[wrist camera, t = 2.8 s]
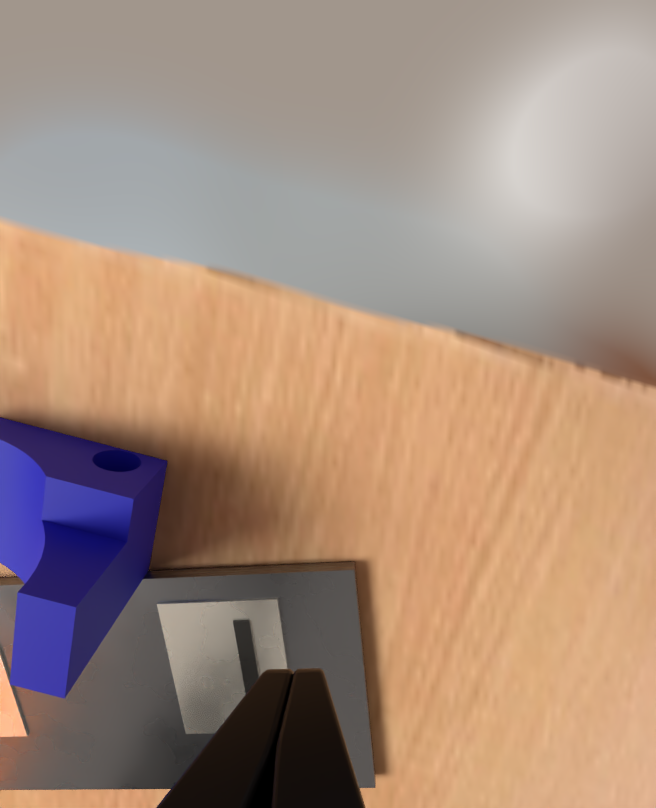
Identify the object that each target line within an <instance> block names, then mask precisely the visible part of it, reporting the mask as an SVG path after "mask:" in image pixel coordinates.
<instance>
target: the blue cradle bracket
mask: <svg viewBox="0 0 656 808" xmlns="http://www.w3.org/2000/svg"><path fill="white" fill-rule="evenodd" d="M166 467H167V461H166V460H162V459H159V458H155V457H151V456H147V455H143V454H139V453H135V452H132V451H128V450H124V449H120V448H116V447H112V446H108V445H105V444H101V443H97V442H93V441H89V440H85V439H82V438H78V437H74V436H70V435H66V434H62V433H58V432H55V431H51V430H47V429H43V428H39V427H35V426H31V425H28V424H24V423H20V422H16V421H12V420H8V419H4V418H1V417H0V563H1V564H3V565H5V566H6V567H8V568H9V569H10V570H11V571H13V572H14V573H15V574H16V575H17V576H18V577H19V578H20V579H21V580H22V581H23V582H24V586H23V587H22V588H21V589H20V590H19V591H18V593H17V605H16V617H15V629H14V641H13V652H12V664H11V676H10V685H14V686H17V687H21V688H25V689H29V690H33V691H37V692H41V693H45V694H49V695H52V696H56V697H60V698H64V699H65V697H66V696H67V694H68V693H69V691H70V690H71V688H72V687H73V685H74V684H75V682H76V681H77V679H78V678H79V676H80V675H81V673H82V671H83V670H84V668H85V667H86V665H87V664H88V662H89V661H90V659H91V658H92V656H93V655H94V653H95V652H96V650H97V649H98V647H99V645H100V644H101V642H102V641H103V639H104V638H105V636H106V635H107V633H108V632H109V630H110V629H111V627H112V626H113V624H114V623H115V621H116V619H117V618H118V616H119V615H120V613H121V612H122V610H123V609H124V607H125V606H126V604H127V603H128V601H129V600H130V598H131V597H132V595H133V593H134V592H135V590H136V589H137V587H138V586H139V584H140V583H141V581H142V580H143V578H144V577H145V575H146V574H147V572H148V571H149V566H150V560H151V554H152V549H153V543H154V537H155V531H156V525H157V520H158V514H159V508H160V502H161V496H162V491H163V485H164V479H165V473H166Z"/></svg>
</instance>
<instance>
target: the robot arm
mask: <svg viewBox="0 0 656 808" xmlns="http://www.w3.org/2000/svg"><path fill="white" fill-rule="evenodd" d="M157 808H365V805H364V802H363V798H362V795H361V792H360V789H359V785H358V782H357V779H356V775H355V772H354V769H353V766H352V762H351V759H350V756H349V752H348V749H347V746H346V742H345V739H344V736H343V733H342V729H341V726H340V723H339V719H338V716H337V713H336V710H335V706H334V703H333V700H332V696H331V693H330V690H329V687H328V683H327V680H326V677H325V674H324V671H323V670H322V669H320V668H304V669H297V670H296V671H295V672H294V671H292V670H291V669H268V670H266V671H264V672H263V673H262V674H261V676H260V677H259V678H258V679H257V681H256V682H255V683H254V684H253V686H252V687H251V688H250V690H249V691H248V692H247V693H246V695H245V696H244V697H243V698H242V700H241V701H240V702H239V704H238V705H237V706H236V707H235V709H234V710H233V711H232V712H231V714H230V715H229V716H228V717H227V719H226V720H225V721H224V723H223V724H222V725H221V726H220V728H219V729H218V730H217V731H216V733H215V734H214V735H213V736H212V738H211V739H210V740H209V742H208V743H207V744H206V745H205V747H204V748H203V749H202V750H201V752H200V753H199V754H198V756H197V757H196V758H195V759H194V761H193V762H192V763H191V764H190V766H189V767H188V768H187V769H186V771H185V772H184V773H183V775H182V776H181V777H180V778H179V780H178V781H177V782H176V783H175V785H174V786H173V787H172V788H171V790H170V791H169V792H168V794H167V795H166V796H165V797H164V799H163V800H162V801H161V802H160V804H159V805H158V806H157Z"/></svg>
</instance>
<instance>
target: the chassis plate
mask: <svg viewBox="0 0 656 808" xmlns="http://www.w3.org/2000/svg"><path fill="white" fill-rule="evenodd" d="M23 586H24V582H23V581H22V580H21V579H20V578H19V577H4V578H0V790H58V789H171V788H172V787H173V786H174V785H175V783H176V782H177V781H178V780H179V778H180V777H181V776H182V775H183V773H184V772H185V771H186V769H187V768H188V767H189V766H190V764H191V763H192V762H193V761H194V759H195V758H196V757H197V756H198V754H199V753H200V752H201V750H202V749H203V748H204V747H205V745H206V744H207V743H208V742H209V740H210V739H211V738H212V736H213V735H214V734H215V733H216V731H217V730H218V729H219V728H220V726H221V725H222V724H223V723H224V721H225V720H226V719H227V717H228V716H229V715H230V714H231V712H232V711H233V710H234V709H235V707H236V706H237V705H238V704H239V702H240V701H241V700H242V698H243V697H244V696H245V695H246V693H247V692H248V691H249V690H250V688H251V687H252V686H253V684H254V683H255V682H256V681H257V679H258V678H259V677H260V676H261V674H262V673H263V672H264V671H266V670H268V669H291V670H292V671H294V672H295V671H296V670H297V669H304V668H320V669H322V670H323V671H324V674H325V677H326V680H327V683H328V687H329V690H330V693H331V696H332V700H333V703H334V706H335V710H336V713H337V716H338V719H339V723H340V726H341V729H342V733H343V736H344V739H345V742H346V746H347V749H348V752H349V756H350V759H351V762H352V766H353V769H354V772H355V775H356V779H357V782H358V785H359V788H375V768H374V757H373V747H372V737H371V726H370V716H369V706H368V695H367V685H366V675H365V664H364V654H363V644H362V633H361V623H360V613H359V602H358V592H357V582H356V571H355V562H333V563H311V564H289V565H268V566H246V567H224V568H202V569H180V570H158V571H148V572H147V574H146V575H145V577H144V578H143V580H142V581H141V583H140V584H139V586H138V587H137V589H136V590H135V592H134V593H133V595H132V597H131V598H130V600H129V601H128V603H127V604H126V606H125V607H124V609H123V610H122V612H121V613H120V615H119V616H118V618H117V619H116V621H115V623H114V624H113V626H112V627H111V629H110V630H109V632H108V633H107V635H106V636H105V638H104V639H103V641H102V642H101V644H100V645H99V647H98V649H97V650H96V652H95V653H94V655H93V656H92V658H91V659H90V661H89V662H88V664H87V665H86V667H85V668H84V670H83V671H82V673H81V675H80V676H79V678H78V679H77V681H76V682H75V684H74V685H73V687H72V688H71V690H70V691H69V693H68V694H67V696H66V697H65V699H64V698H60V697H56V696H52V695H49V694H45V693H41V692H37V691H33V690H29V689H25V688H21V687H17V686H14V685H10V676H11V664H12V652H13V641H14V629H15V617H16V605H17V593H18V591H19V590H20V589H21V588H22V587H23Z"/></svg>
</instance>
